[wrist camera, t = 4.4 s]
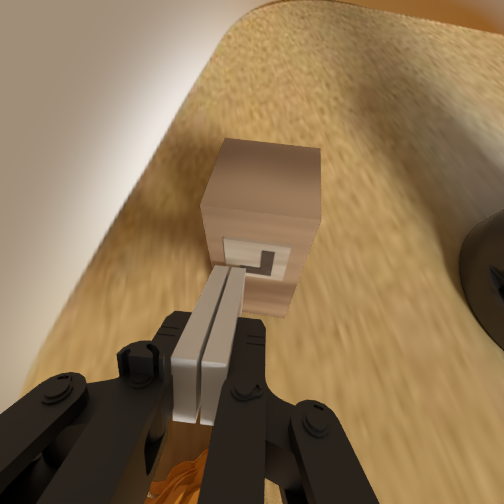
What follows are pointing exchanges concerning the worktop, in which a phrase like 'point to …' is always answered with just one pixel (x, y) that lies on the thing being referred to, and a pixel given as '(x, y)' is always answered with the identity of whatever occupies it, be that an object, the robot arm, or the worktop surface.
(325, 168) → the worktop surface
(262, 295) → the block
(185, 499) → the toy
